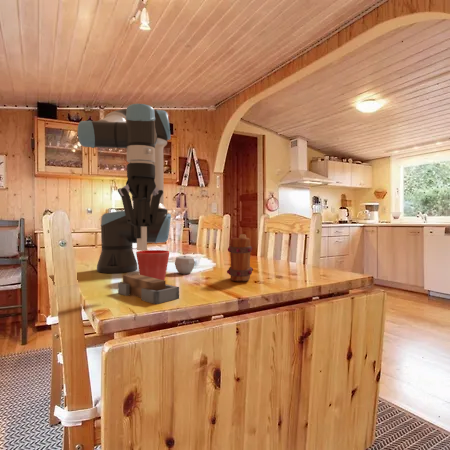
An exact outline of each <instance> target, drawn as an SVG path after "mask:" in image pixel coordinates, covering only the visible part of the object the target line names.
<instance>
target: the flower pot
mask: <svg viewBox="0 0 450 450" xmlns="http://www.w3.org/2000/svg"><path fill="white" fill-rule="evenodd" d="M135 254H136V262H137V268H138V272H139V273H138V274H140V275H144V276H148V277H152V278H156V279H160V280H165V279H166V274H167V270H168V264H169V263H168V262H169V258H170V257H169V256H170V251H169V250H163V249H160V250H159V249H151V250H150V249H149V250H148V249H147V250H145V251H141V250H137V251H136V252H135ZM165 281H166V280H165Z"/></svg>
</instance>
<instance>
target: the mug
mask: <svg viewBox="0 0 450 450" xmlns="http://www.w3.org/2000/svg"><path fill="white" fill-rule="evenodd" d="M252 250H253V246H251V238H250V237H247V235H246V234H243V233H241V234H239V237H231V238H230V246H229V247H228V248H227V251H228V252H229V253H230V267H229V268H228V269H227V270H226V274H228V275H229V276H230V280H231V281H233V282H236V283H237V282H239V283H241V282H242V283H243V282H247V281H250V278H251V275H252V274H253V271H254V268H253V267H252V266H251V252H252Z"/></svg>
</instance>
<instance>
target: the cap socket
mask: <svg viewBox="0 0 450 450" xmlns="http://www.w3.org/2000/svg"><path fill="white" fill-rule="evenodd" d="M165 288H166V289H163V290H158V291H155V290H151V289H147V288H142V289H141V301H144V302H146V303H150V304H154V305H159V304H162V303H163V304H164V303H166V302H171V301H174V300H178V299H180V286H175V285H172V284H171V285H170V284H167V283H165Z"/></svg>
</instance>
